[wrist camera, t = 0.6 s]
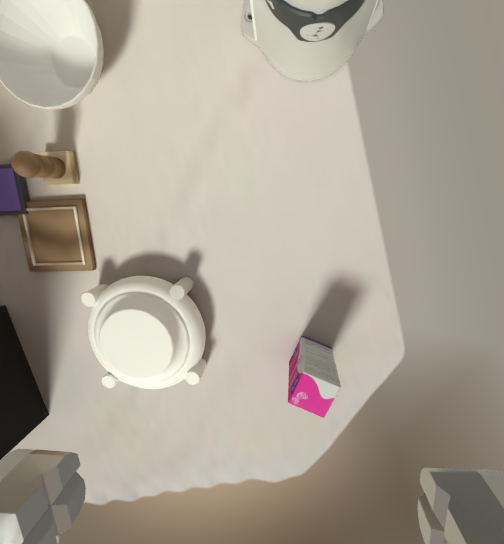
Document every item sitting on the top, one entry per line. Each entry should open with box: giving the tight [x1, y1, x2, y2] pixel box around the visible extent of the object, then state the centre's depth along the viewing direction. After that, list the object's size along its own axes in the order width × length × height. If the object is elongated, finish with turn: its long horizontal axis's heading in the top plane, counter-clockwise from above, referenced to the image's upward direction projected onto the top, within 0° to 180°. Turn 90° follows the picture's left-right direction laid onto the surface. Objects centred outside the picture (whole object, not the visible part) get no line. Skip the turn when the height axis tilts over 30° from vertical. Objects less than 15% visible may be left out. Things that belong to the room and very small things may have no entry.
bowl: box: [0, 0, 104, 110], centre depth 44 cm, size 16×16×7 cm
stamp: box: [11, 150, 79, 185], centre depth 47 cm, size 5×5×9 cm
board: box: [18, 199, 96, 271], centre depth 54 cm, size 12×12×1 cm
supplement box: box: [288, 336, 341, 418], centre depth 49 cm, size 6×6×12 cm
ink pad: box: [0, 164, 30, 215], centre depth 53 cm, size 8×8×2 cm
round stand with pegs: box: [81, 276, 207, 389], centre depth 54 cm, size 24×24×7 cm
